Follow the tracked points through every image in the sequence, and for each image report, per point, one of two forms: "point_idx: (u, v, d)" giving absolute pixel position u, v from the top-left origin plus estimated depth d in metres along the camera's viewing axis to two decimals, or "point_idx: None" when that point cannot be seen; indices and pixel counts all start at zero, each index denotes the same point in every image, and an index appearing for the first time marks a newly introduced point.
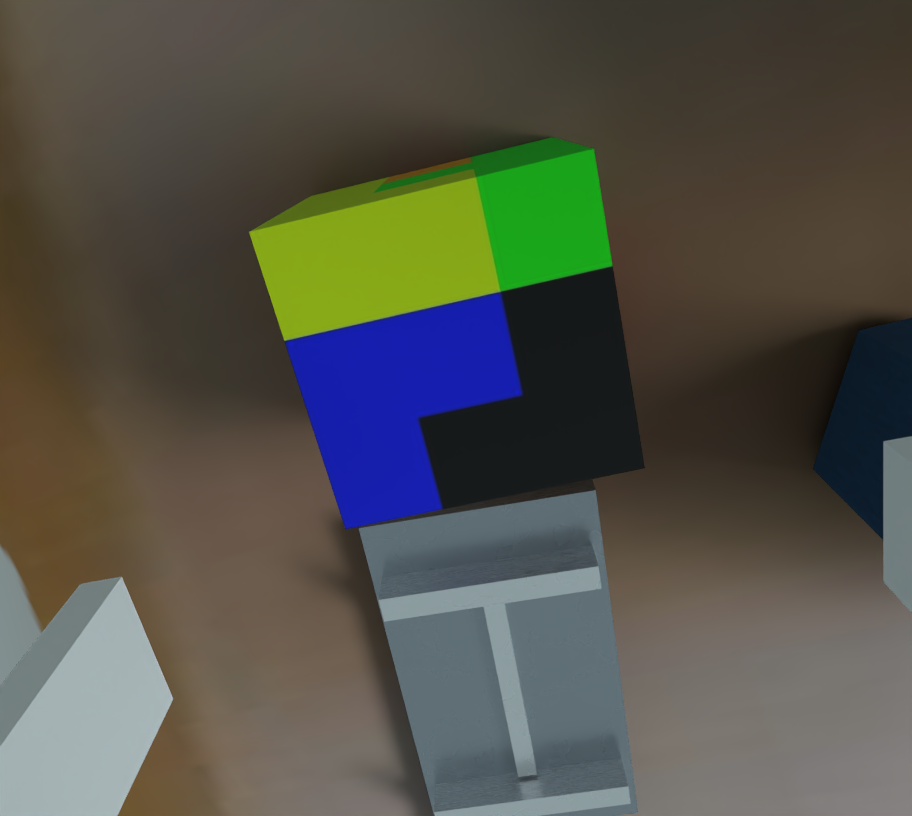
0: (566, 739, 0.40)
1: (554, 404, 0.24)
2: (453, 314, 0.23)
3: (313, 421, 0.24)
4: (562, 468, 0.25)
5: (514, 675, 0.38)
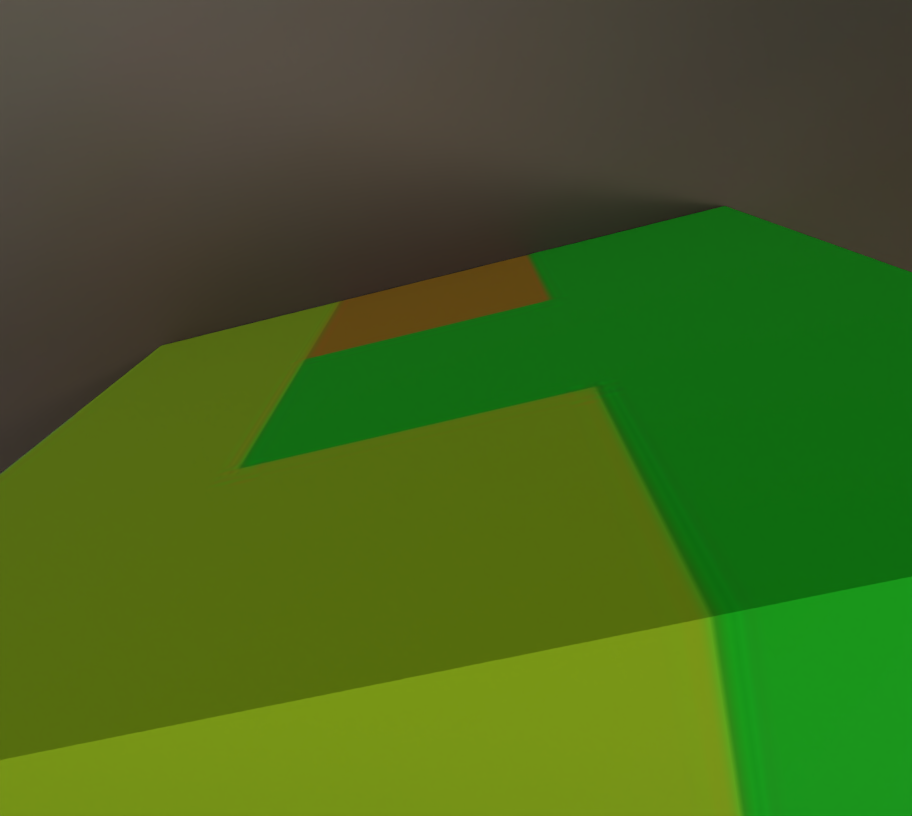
0: None
1: None
2: None
3: None
4: None
5: None
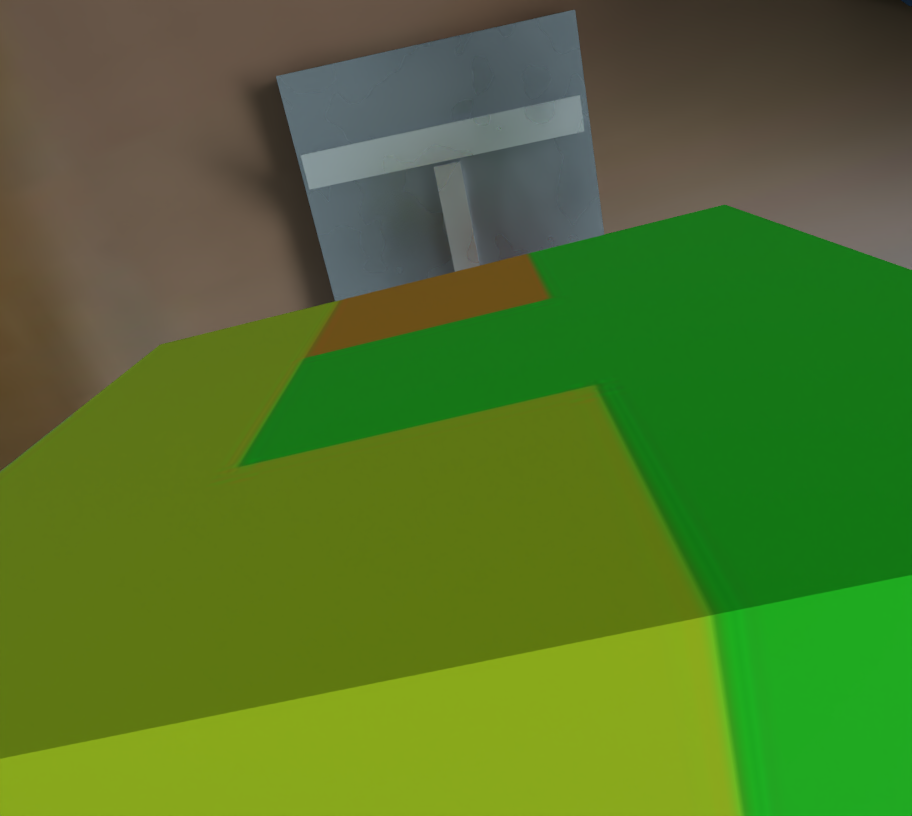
0: None
1: None
2: None
3: None
4: None
5: None
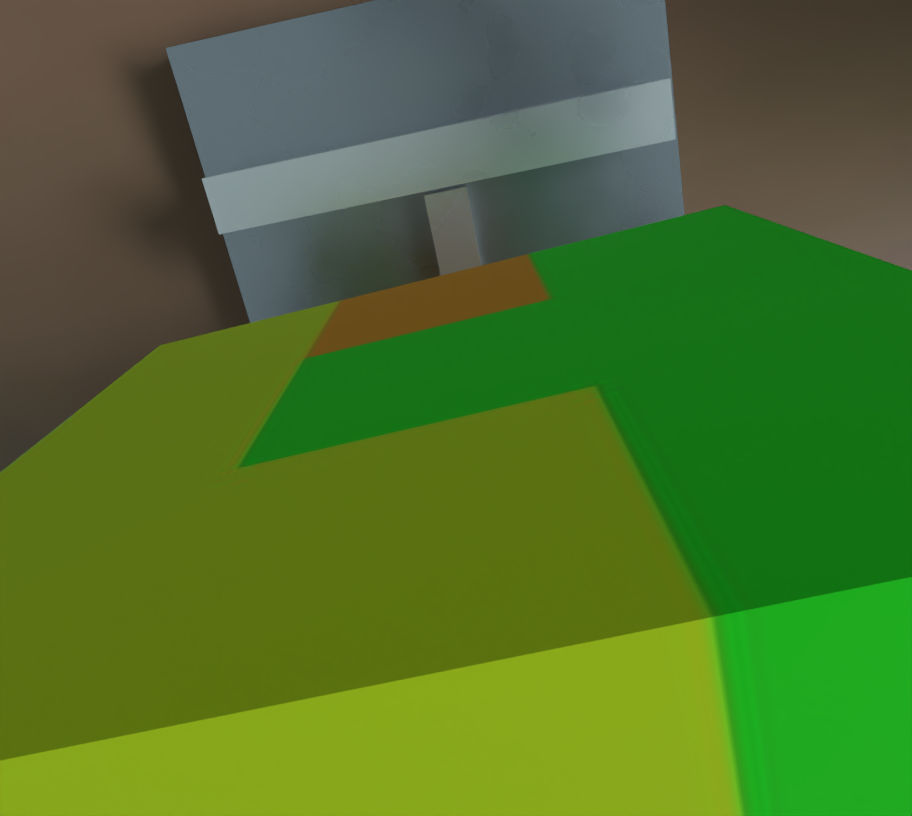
0: None
1: None
2: None
3: None
4: None
5: None
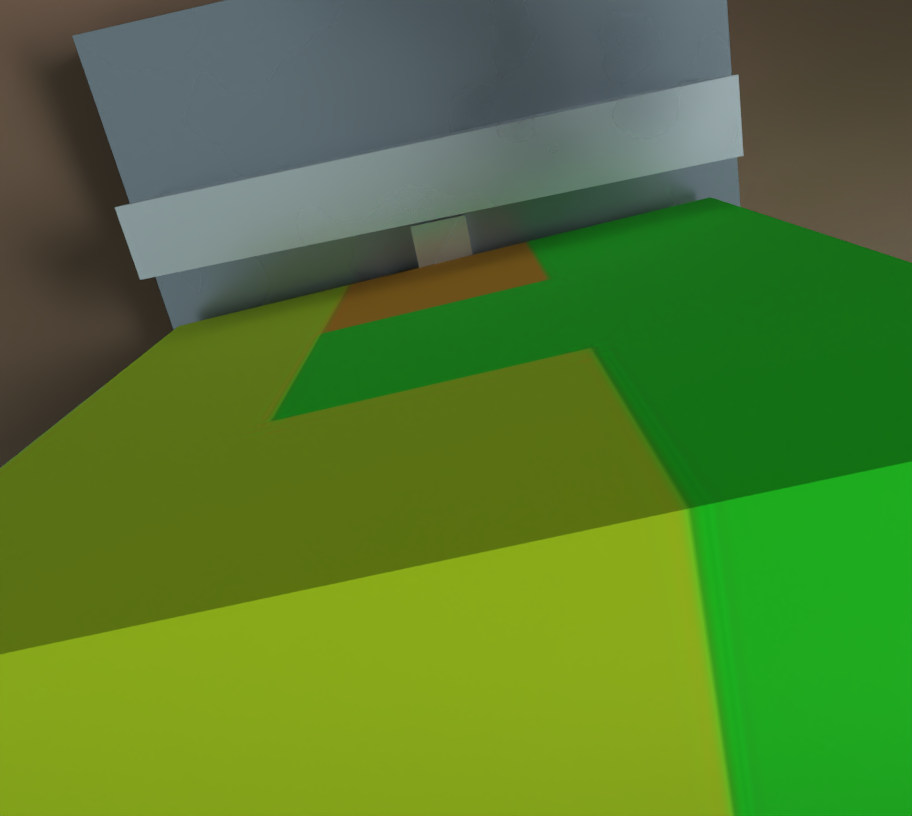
0: None
1: None
2: None
3: None
4: None
5: None
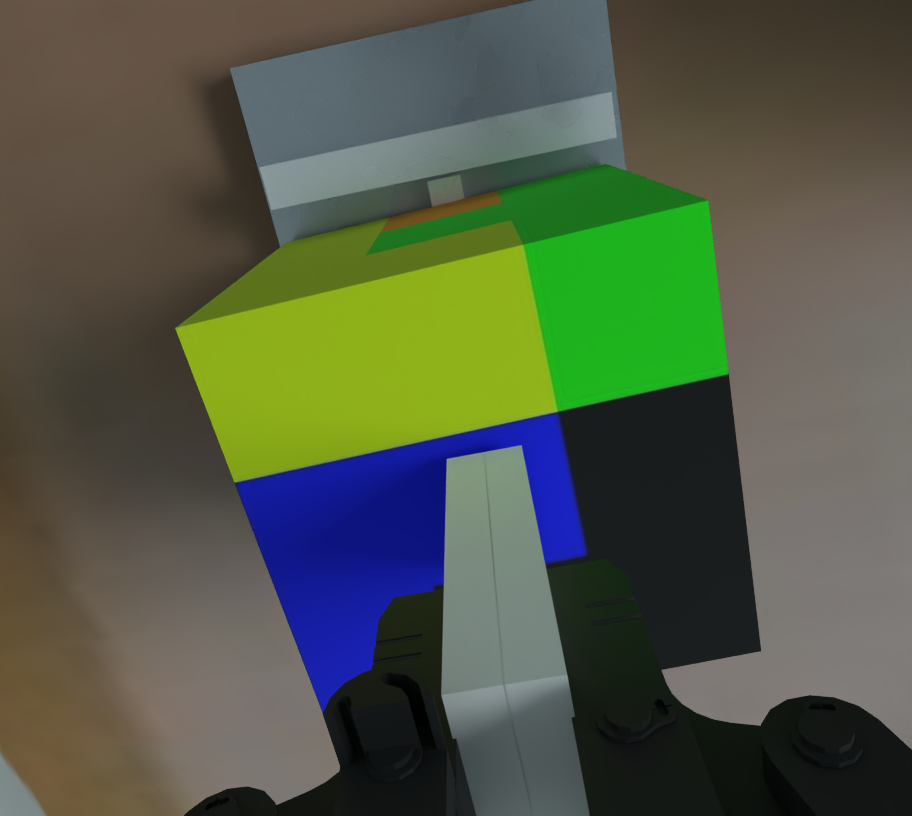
0: None
1: (632, 566, 0.16)
2: (487, 443, 0.15)
3: (280, 592, 0.17)
4: None
5: None
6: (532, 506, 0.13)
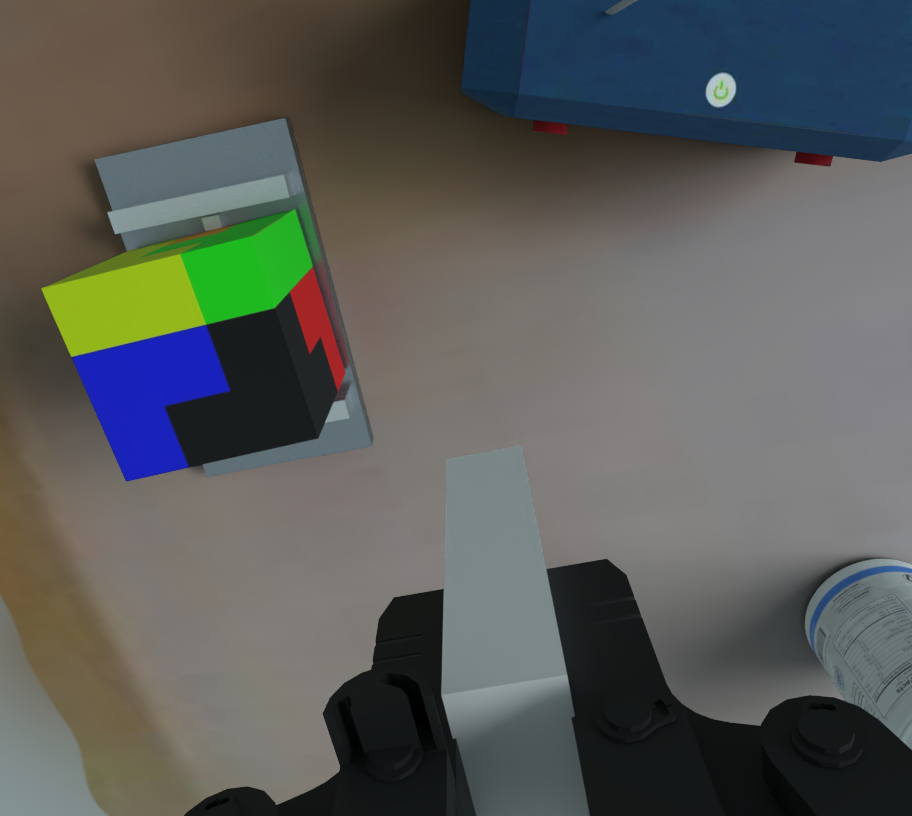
0: None
1: (251, 396, 0.37)
2: (178, 338, 0.36)
3: (96, 409, 0.37)
4: (263, 438, 0.37)
5: None
6: (532, 506, 0.13)
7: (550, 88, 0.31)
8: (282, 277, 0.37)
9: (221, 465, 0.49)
